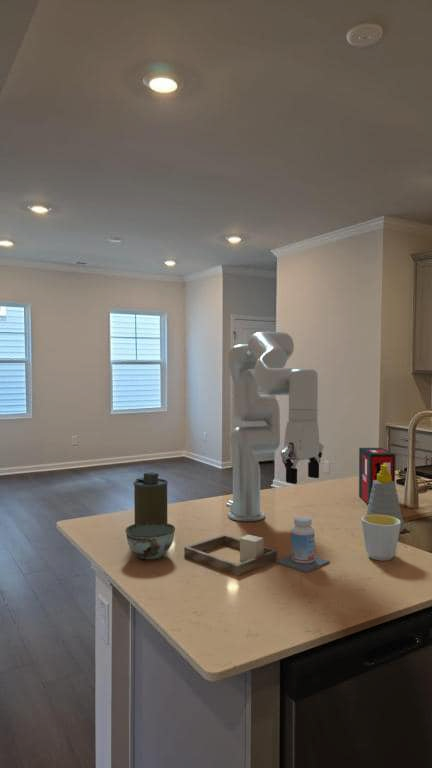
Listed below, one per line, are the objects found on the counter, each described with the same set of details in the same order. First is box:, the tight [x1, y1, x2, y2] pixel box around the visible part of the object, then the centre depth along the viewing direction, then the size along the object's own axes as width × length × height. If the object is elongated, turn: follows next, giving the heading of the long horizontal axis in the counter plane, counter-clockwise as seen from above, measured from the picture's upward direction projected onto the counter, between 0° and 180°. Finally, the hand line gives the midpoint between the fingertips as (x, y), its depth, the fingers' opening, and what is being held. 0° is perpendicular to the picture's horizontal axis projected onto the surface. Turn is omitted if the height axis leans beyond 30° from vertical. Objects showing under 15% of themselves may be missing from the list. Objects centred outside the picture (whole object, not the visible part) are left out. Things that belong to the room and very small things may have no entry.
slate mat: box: [275, 554, 330, 574], centre depth 141 cm, size 10×10×1 cm
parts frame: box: [183, 534, 279, 577], centre depth 145 cm, size 20×16×2 cm
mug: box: [361, 514, 401, 562], centre depth 147 cm, size 14×10×10 cm
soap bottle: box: [366, 463, 405, 533], centre depth 172 cm, size 12×12×20 cm
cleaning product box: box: [358, 447, 396, 506], centre depth 204 cm, size 16×9×20 cm, turn 179°
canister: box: [132, 471, 169, 524], centre depth 162 cm, size 11×10×20 cm
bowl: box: [124, 522, 176, 562], centre depth 146 cm, size 14×13×8 cm
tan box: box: [239, 534, 265, 562], centre depth 143 cm, size 5×4×6 cm
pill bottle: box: [290, 515, 316, 564], centre depth 141 cm, size 6×6×11 cm
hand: (302, 480), depth 141 cm, fingers open, 9 cm apart
